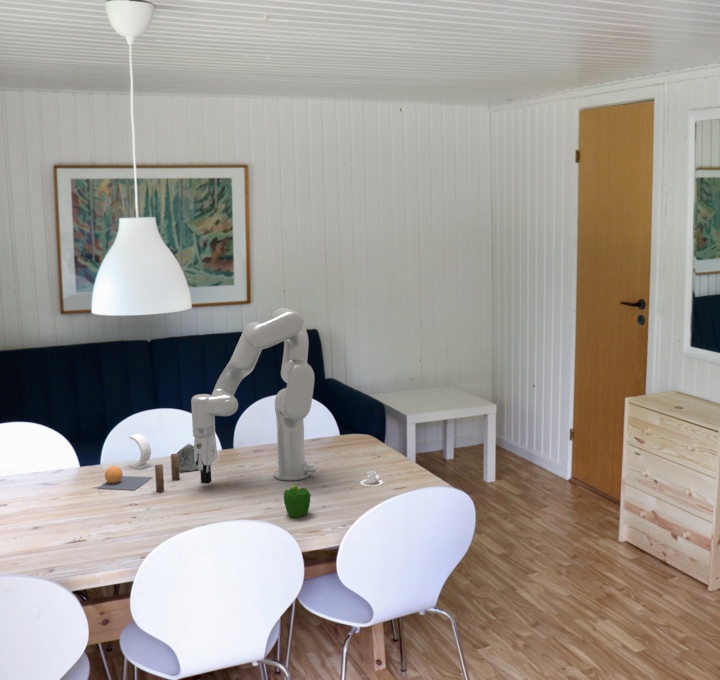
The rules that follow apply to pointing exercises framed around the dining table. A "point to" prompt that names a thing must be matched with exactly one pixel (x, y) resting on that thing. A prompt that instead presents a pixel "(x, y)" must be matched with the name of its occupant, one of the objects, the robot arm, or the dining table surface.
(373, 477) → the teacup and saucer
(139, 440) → the headphone stand
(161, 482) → the post left
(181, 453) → the stone
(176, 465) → the post right
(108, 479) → the ball
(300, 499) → the bell pepper
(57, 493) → the dining table surface
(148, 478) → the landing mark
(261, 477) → the dining table surface
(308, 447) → the dining table surface
